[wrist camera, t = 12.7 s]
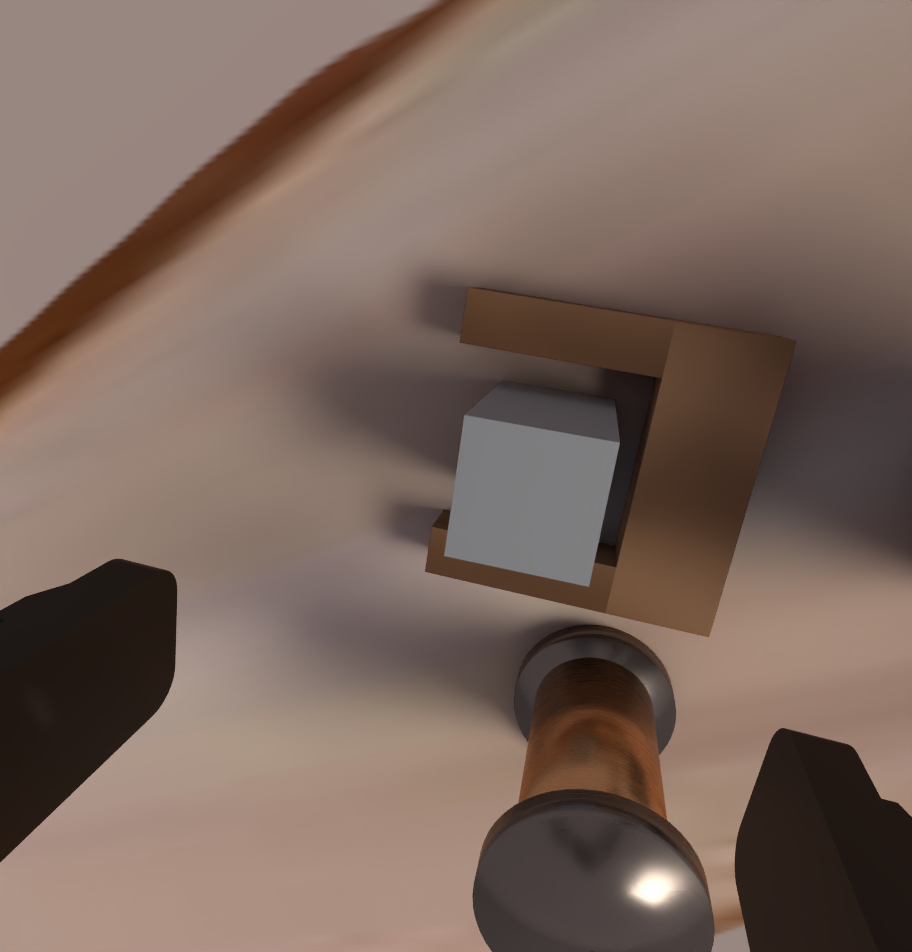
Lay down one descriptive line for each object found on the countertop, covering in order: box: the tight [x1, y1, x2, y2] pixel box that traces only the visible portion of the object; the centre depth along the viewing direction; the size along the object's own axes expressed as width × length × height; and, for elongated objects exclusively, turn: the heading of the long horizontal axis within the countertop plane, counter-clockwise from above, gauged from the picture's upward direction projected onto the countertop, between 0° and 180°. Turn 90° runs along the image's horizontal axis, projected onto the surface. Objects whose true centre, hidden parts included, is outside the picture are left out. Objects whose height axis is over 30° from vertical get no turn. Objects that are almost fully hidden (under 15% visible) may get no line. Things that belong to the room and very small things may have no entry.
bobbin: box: [473, 625, 714, 952], centre depth 22 cm, size 6×6×10 cm
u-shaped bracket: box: [425, 287, 796, 637], centre depth 23 cm, size 10×10×2 cm
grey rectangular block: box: [444, 381, 620, 587], centre depth 21 cm, size 4×4×7 cm
